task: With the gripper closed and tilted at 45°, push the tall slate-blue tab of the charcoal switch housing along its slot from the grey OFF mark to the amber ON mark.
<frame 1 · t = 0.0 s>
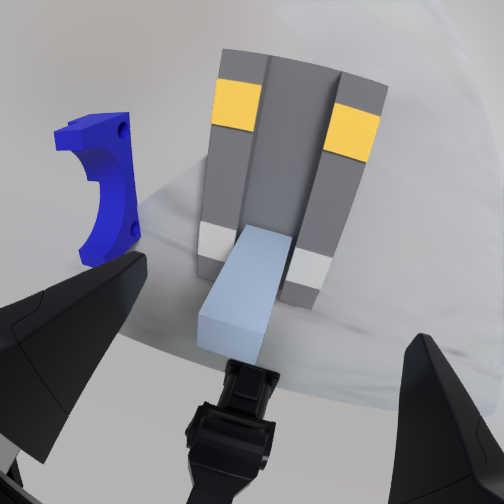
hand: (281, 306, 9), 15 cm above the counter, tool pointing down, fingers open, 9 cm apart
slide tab: (249, 286, 21), point 6 cm above the counter, slide at 0.0 cm
switch housing: (281, 182, 23), on the counter
cable clip: (116, 175, 26), on the counter
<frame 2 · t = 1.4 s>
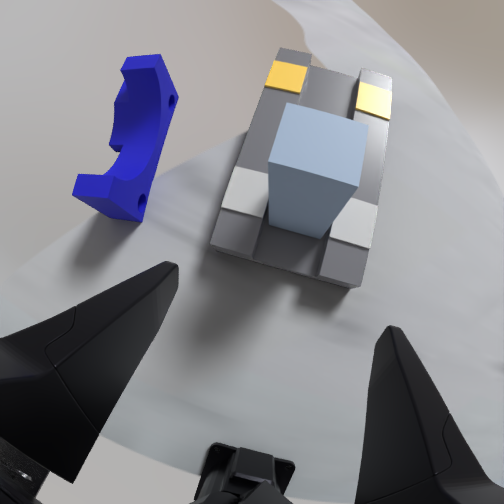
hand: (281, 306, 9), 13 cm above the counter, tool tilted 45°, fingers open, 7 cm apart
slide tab: (308, 185, 16), point 6 cm above the counter, slide at 0.0 cm
switch housing: (313, 157, 23), on the counter
cable clip: (138, 153, 25), on the counter
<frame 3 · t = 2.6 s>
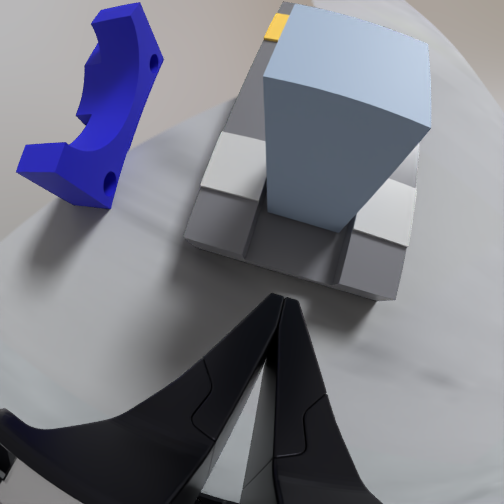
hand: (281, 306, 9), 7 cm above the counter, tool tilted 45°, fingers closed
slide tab: (327, 148, 10), point 6 cm above the counter, slide at 0.0 cm
switch housing: (327, 128, 17), on the counter
cable clip: (111, 125, 19), on the counter
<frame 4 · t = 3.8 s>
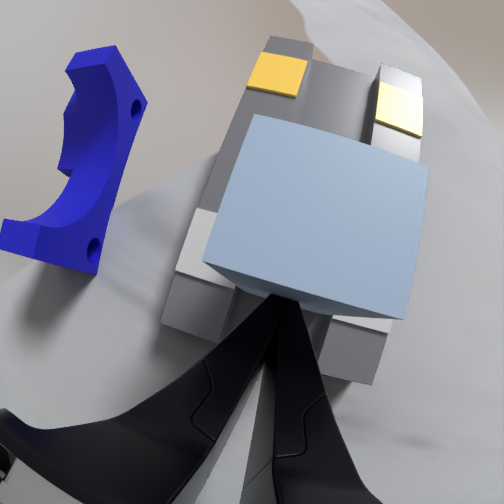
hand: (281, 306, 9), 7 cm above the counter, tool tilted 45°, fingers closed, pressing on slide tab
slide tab: (301, 255, 10), point 6 cm above the counter, slide at 0.1 cm, touching gripper
switch housing: (314, 189, 17), on the counter
cable clip: (94, 179, 18), on the counter
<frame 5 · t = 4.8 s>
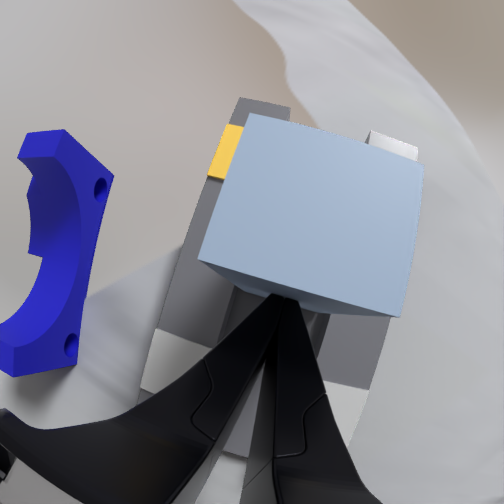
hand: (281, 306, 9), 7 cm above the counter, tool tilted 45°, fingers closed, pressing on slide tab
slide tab: (299, 254, 10), point 6 cm above the counter, slide at 5.9 cm, touching gripper
switch housing: (284, 290, 16), on the counter
cable clip: (66, 263, 17), on the counter
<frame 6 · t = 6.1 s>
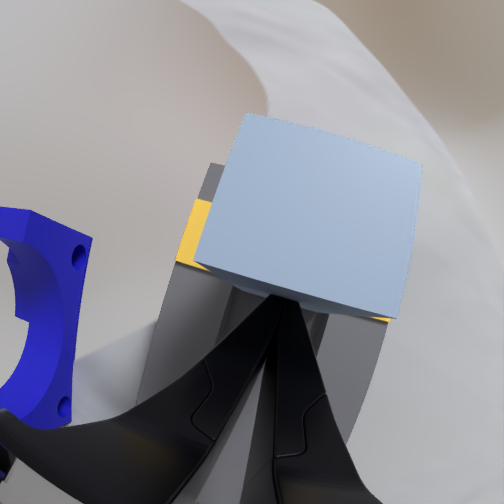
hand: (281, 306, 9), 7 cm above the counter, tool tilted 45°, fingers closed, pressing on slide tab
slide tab: (297, 254, 10), point 6 cm above the counter, slide at 10.1 cm, touching gripper
switch housing: (258, 369, 15), on the counter
cable clip: (53, 325, 17), on the counter
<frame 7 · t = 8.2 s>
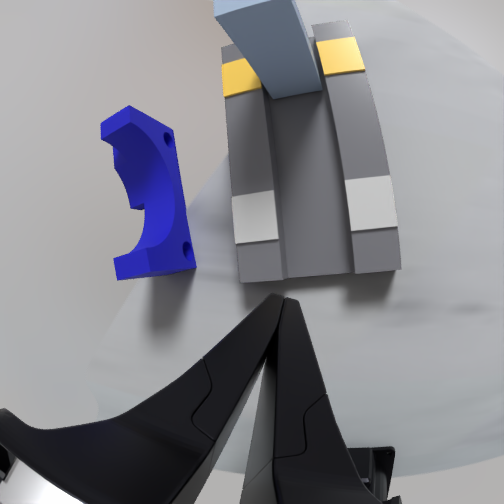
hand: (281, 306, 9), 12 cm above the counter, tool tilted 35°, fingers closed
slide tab: (276, 39, 15), point 6 cm above the counter, slide at 10.1 cm
switch housing: (308, 145, 21), on the counter
cable clip: (163, 202, 25), on the counter
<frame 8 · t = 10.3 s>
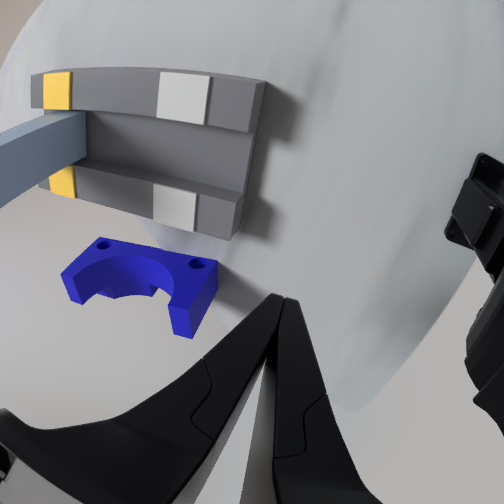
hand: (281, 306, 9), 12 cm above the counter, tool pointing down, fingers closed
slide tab: (26, 153, 16), point 6 cm above the counter, slide at 10.1 cm
switch housing: (132, 133, 20), on the counter
cable clip: (156, 266, 27), on the counter
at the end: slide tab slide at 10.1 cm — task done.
